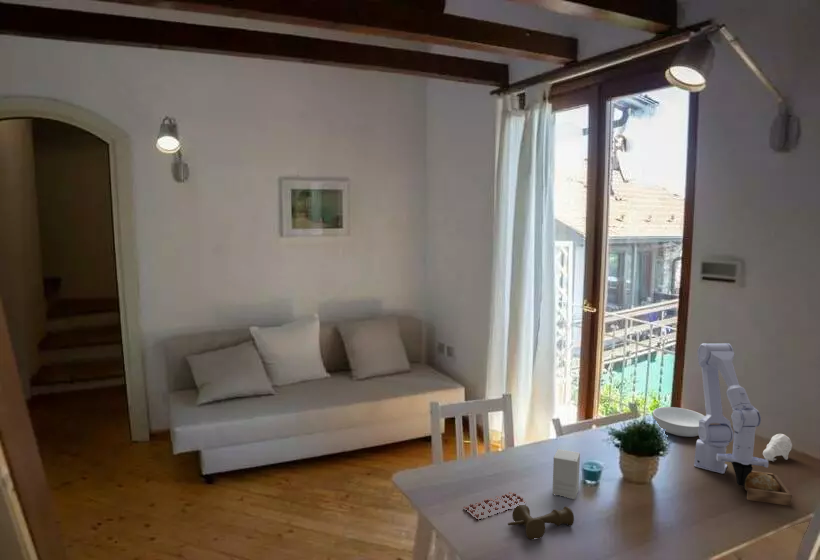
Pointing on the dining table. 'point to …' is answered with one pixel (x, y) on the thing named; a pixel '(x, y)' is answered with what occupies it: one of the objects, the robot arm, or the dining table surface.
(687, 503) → the dining table surface
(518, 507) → the kendama
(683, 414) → the serving bowl
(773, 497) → the wooden tray
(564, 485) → the supplement box
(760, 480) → the bread roll
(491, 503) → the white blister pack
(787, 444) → the white lumpy piece
